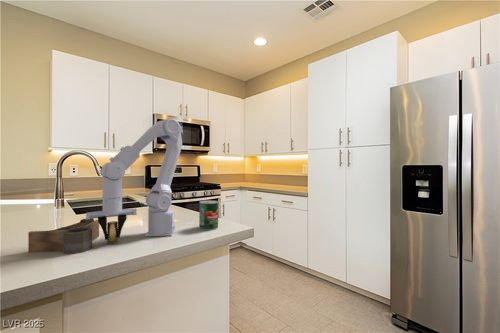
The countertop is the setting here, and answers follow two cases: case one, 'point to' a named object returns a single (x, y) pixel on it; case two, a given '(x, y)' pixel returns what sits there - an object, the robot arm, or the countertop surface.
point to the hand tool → (77, 225)
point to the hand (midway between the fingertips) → (112, 238)
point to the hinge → (64, 239)
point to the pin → (112, 232)
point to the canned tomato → (208, 215)
